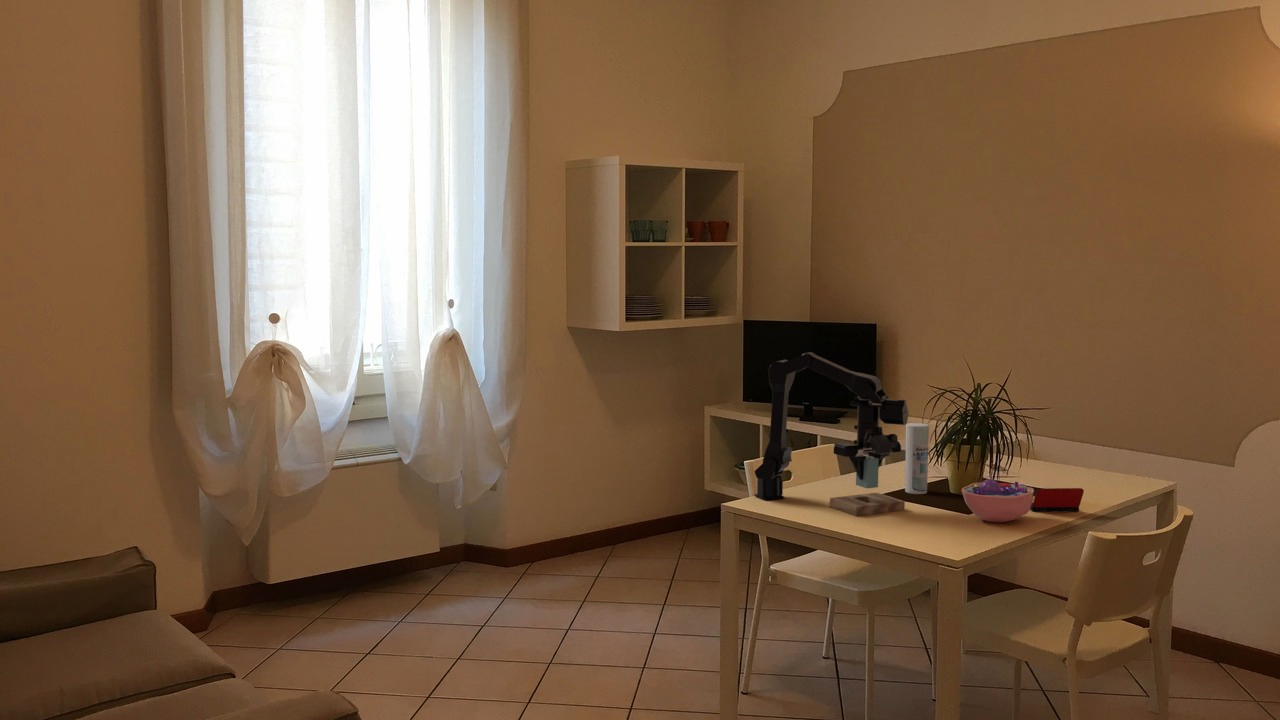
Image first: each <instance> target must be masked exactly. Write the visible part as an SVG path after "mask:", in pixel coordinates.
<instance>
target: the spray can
mask: <svg viewBox="0 0 1280 720" xmlns="http://www.w3.org/2000/svg"><path fill="white" fill-rule="evenodd" d="M929 428H930V426H929V424H927V423H923V422H922V423H920V422H910V423H909V422H907V424H906V425H905V466H904V467H905V469H904V471H905V472H904V473H905V477H904V480H905V481H904V482H905V483H904V487H905V488H904V491H905V492H906V493H907V494H912V495H924V494H927V493H928V475H929V474H928V472H929V471H928V469H929V468H928V467H929V464H928V463H929V442H930V441H929V439H930V438H929V436H930V435H929V434H930V431H929V430H930V429H929Z"/></svg>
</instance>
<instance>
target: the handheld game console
mask: <svg viewBox="0 0 1280 720" xmlns="http://www.w3.org/2000/svg"><path fill="white" fill-rule="evenodd" d="M1084 491H1085V490H1084V489H1083V488H1080V487H1077V488H1076V487H1074V488H1073V487H1072V488H1069V487H1068V488H1067V487H1060V488H1059V487H1058V488H1054V487H1053V488H1049V487H1047V488H1037V490H1036V491H1035V495H1034V497H1033V501H1032V504H1031V507H1030V510H1029V511H1031V512H1033V513H1052V512H1054V513H1055V512H1057V513H1078V512H1079V511H1080V505H1081V502H1082V499H1083V496H1084V493H1085V492H1084Z"/></svg>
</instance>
